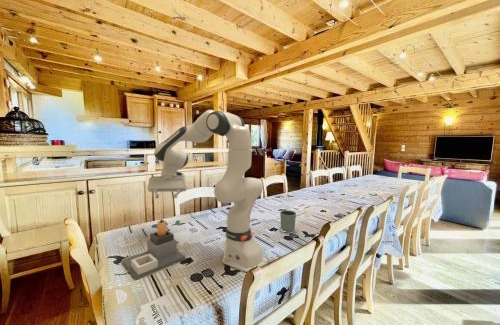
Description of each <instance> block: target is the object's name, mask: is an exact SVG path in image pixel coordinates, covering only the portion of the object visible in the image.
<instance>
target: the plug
mask: <svg viewBox="0 0 500 325" xmlns="http://www.w3.org/2000/svg"><path fill="white" fill-rule="evenodd" d="M156 227H157V229H156V230H157V231H156V232H157V237H158V238H160V237H163V236H166V230H167V220H164V219H160V220H159V221H157V223H156Z"/></svg>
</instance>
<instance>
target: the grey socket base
mask: <svg viewBox="0 0 500 325" xmlns="http://www.w3.org/2000/svg"><path fill="white" fill-rule="evenodd" d="M177 242H178V241H177V239H176V238H175V236H174V233H172V232H171V231H169V230H167V229H166V236H163V237H160V238H158V237H157V231H156V232H151V233H150V234H149V239H147V240H146V248H147V249H146V251H144V252H140V253H137V254H135V255H131V256H129V257H126V258H123V259H121V263H122V265H123V266H124V267H125V268H126V270H127V271H128V273H130V275H131V276H132V277H133V278H134V279H135V280H136V281H137V280H139V279H140V280H141V279H142V278H144V277H147V276H149V275H152V274H154V273H157V272H159V271H161V270H163V269H165V268H168V267H170V266H172V265H175V264H177V263H180V262H182V261H184V260H186V255H184V254H183V253H182V252H180V251H179V250H178V249H177Z"/></svg>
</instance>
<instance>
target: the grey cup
mask: <svg viewBox="0 0 500 325" xmlns="http://www.w3.org/2000/svg"><path fill="white" fill-rule="evenodd" d="M296 218H297V213H296V211H293V210H288V209H286V210H280V230H281V229H282V230H283V231H286V232H293V231H294V232H295V229H296V227H295V226H296ZM294 232H293V233H294Z"/></svg>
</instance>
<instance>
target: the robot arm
mask: <svg viewBox="0 0 500 325" xmlns="http://www.w3.org/2000/svg"><path fill="white" fill-rule="evenodd" d="M213 134H215V135H218V136H220V137H224V136H225V137H226V138H227V141H228V153H227V154H228V158H227V167H226V170H225V172H224V175H223V176H222V178H221V179H220V180H219V181H218V182H217V183H216V184H215V187H214V189H213V193H214V198H215V199H216V201H217V202H219V203H222V204H232V203H234V204H233V205H232V207H231V208H230V209H229V210H228V212H227V218H226V222H227V223H226V224H227V225H226V229H225V237H226V239H225V243H224V251H223V254H222V260H221V263H222V264H225V265H227V266H228V267H231V268H234V269H236V270H238V271H241V272H243V271H245V272H244V273H246V272H247V271H248V270H249V269H251V268H253V267H256V266H261V265H264V264H266V263H267V264H268V259H267V258H266V257H265V256H263V250H262V248H261V246H260V245H259V244H258V242H256V240H255V239H254V238H253V235H254V234H255V232H252V231H251V227H250V226H251V225H250V224H251V214H252V210H253V207H254V206H255V203H256V201H257V200H258V198H259V197H260V196H261V195H262V194H263V190H264V189H263V184H262V181H261V180H260V179H259V178H256V177H250V176H249V177H244V175H245V173H246V172H247V171H248V170H249V169H251V167H252V158H253V157H252V156H253V155H252V149H253V148H252V146H253V144H252V143H253V142H252V136H251V131H250V129H249V128H248V127H247V126H245V122H244V119H243V118H242V117H241V116H239V115H237V114H233V113H231V112H228V111H221V110H214V109H208V110H207V109H206V111H204V112H203V113H202V114H201V115H200V116H199V117H198V118H197V119H196V120H195V121H194V122H193V123H191V124H190V125H186V126H181V127H180V128H177V130H176V131H175V132H174V133H172V134H171V135H170V136H169V137H167V138H166V139H165V140H164V141H162V142H161V143H159V144H158V145H157V146H156V147H155V148H154V152H153V154H154V156H155V159H156V160H157V161H160V162H162V169H161V172H160V176H159V175H155V176H150V177H149V178H148V185H147V191H148V192H151V193H152V192H153V193H154V195H155V199H159V198H160V197H159V196H160V194H159V193H158V192H160V193H162V192H165V193H166V192H167V193H168V192H169V193H170V192H172V193H174V192H175V193H174V194H173V198H174V199H177V198H178V196H179V194H180V193H181V192H186V191H187V181H186V176H185V173H183V172H181V171H178V170H181V169H182V168H185V167H186V166H187V165H188V161H189V155H188V153H187V152H185V151H184V150H182V149H181V148H180V149H179V148H176V147H175V146H176V145H177V144H178V143H180V142H192V143H196V144H200V143H201V144H202V143H205V142H207V141H208V140H209V139H210V138H211V137H212V136H213ZM267 264H266V265H267Z"/></svg>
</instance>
